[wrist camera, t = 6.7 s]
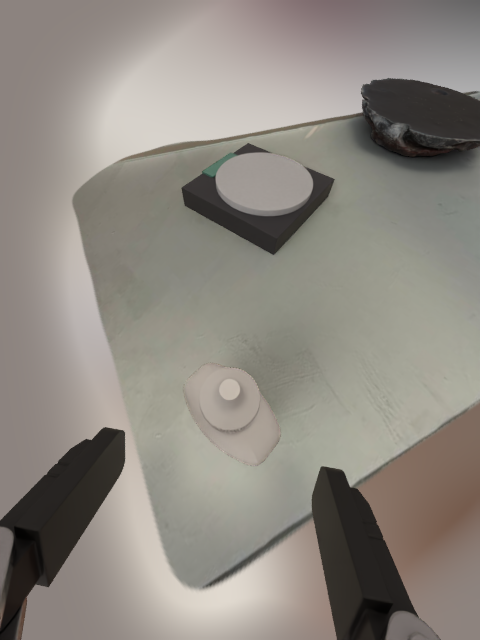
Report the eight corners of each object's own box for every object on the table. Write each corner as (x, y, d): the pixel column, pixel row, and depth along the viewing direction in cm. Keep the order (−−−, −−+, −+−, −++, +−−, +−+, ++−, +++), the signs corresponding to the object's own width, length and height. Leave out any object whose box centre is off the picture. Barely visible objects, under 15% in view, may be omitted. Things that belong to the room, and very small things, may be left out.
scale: (184, 205, 31) (179, 180, 28) (246, 160, 36) (248, 136, 33) (273, 254, 27) (278, 232, 24) (328, 196, 32) (337, 172, 30)
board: (410, 104, 48) (428, 69, 44) (506, 158, 39) (542, 120, 34) (322, 122, 43) (333, 85, 38) (409, 189, 34) (436, 150, 29)
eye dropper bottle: (212, 472, 17) (180, 518, 6) (195, 395, 19) (151, 333, 9) (269, 451, 17) (327, 459, 7) (246, 379, 20) (262, 304, 9)
